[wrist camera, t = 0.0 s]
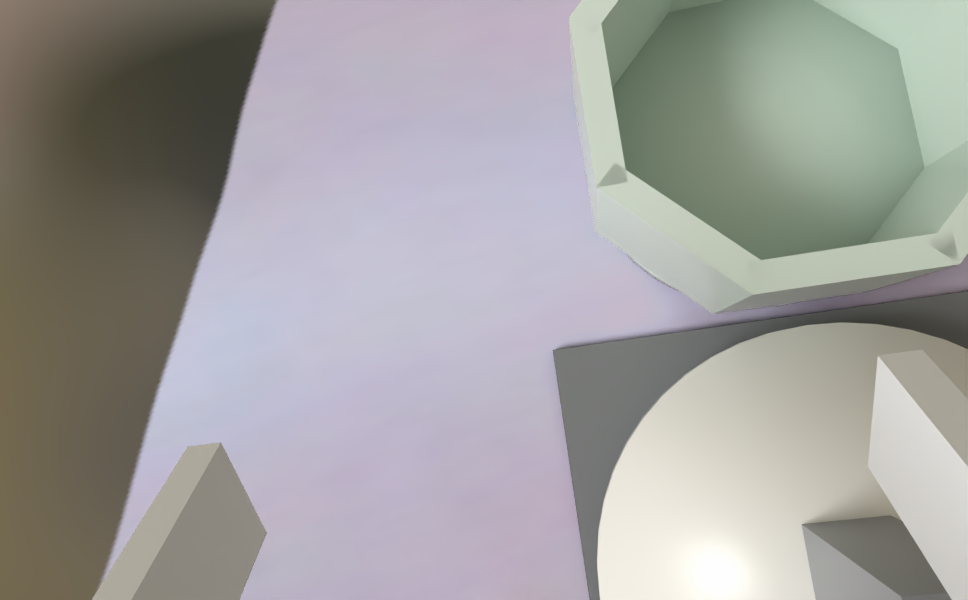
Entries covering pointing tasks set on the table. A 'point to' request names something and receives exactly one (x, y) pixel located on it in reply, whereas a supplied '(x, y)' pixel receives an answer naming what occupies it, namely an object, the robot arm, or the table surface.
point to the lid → (767, 477)
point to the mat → (664, 360)
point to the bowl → (775, 142)
